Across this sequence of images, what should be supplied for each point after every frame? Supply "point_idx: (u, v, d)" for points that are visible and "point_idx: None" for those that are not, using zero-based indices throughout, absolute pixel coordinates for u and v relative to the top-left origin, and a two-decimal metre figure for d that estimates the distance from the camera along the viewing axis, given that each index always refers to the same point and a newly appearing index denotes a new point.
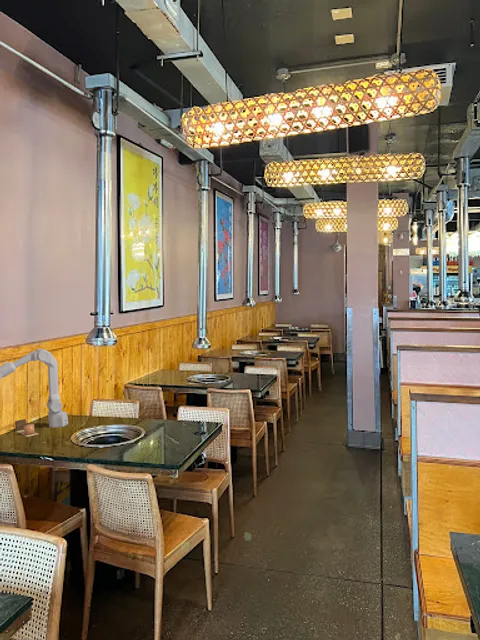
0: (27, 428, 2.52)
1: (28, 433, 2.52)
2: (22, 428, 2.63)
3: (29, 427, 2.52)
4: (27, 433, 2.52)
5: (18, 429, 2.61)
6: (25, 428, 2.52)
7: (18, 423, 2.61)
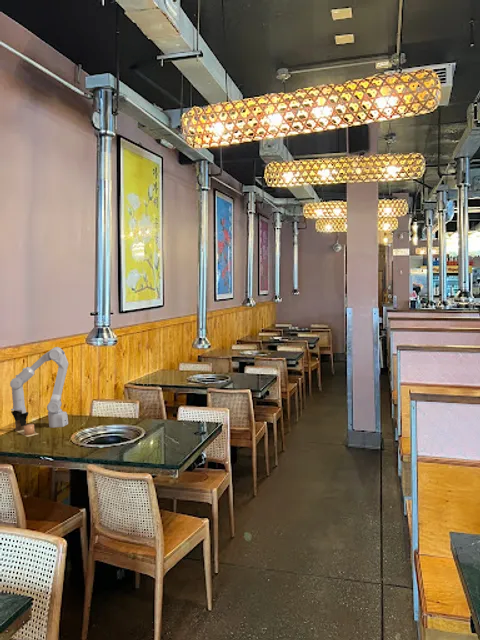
0: (27, 428, 2.52)
1: (28, 433, 2.52)
2: (22, 428, 2.63)
3: (29, 427, 2.52)
4: (27, 433, 2.52)
5: (18, 429, 2.61)
6: (25, 428, 2.52)
7: (18, 423, 2.61)
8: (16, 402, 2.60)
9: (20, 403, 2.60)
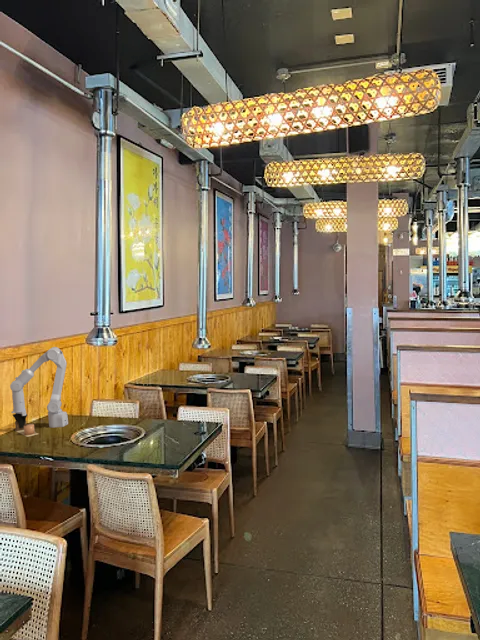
0: (27, 428, 2.52)
1: (28, 433, 2.52)
2: (22, 428, 2.63)
3: (29, 427, 2.52)
4: (27, 433, 2.52)
5: (18, 429, 2.61)
6: (25, 428, 2.52)
7: (18, 423, 2.61)
8: (16, 405, 2.60)
9: (20, 405, 2.61)
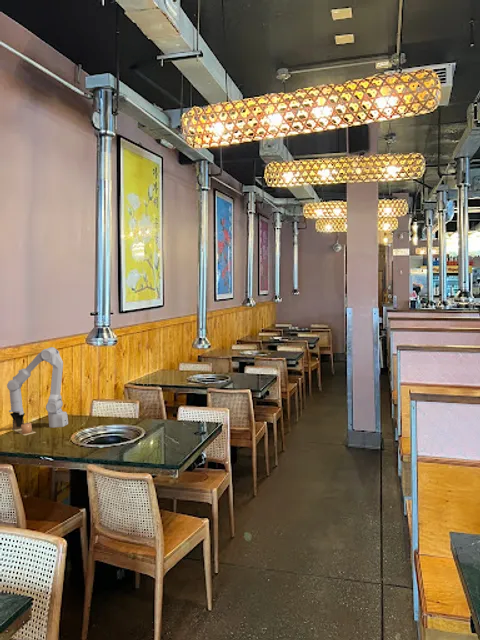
0: (24, 427, 2.55)
1: (25, 432, 2.55)
2: (19, 427, 2.66)
3: (26, 426, 2.55)
4: (24, 432, 2.55)
5: (15, 428, 2.64)
6: (22, 427, 2.55)
7: (15, 422, 2.64)
8: (14, 404, 2.63)
9: (18, 404, 2.64)
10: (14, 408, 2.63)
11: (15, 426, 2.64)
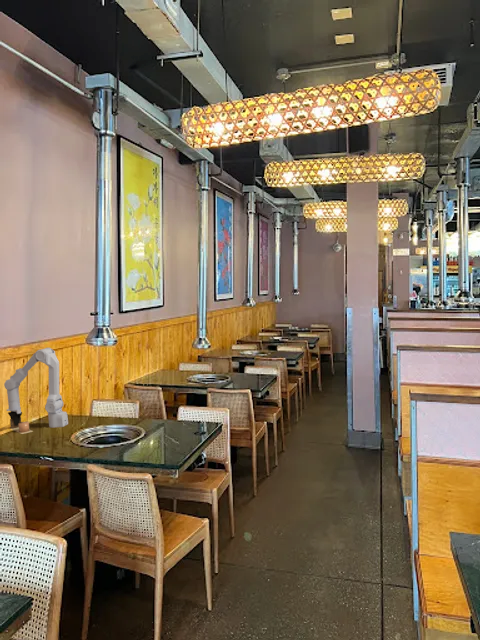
0: (22, 426, 2.58)
1: (23, 430, 2.58)
2: (17, 426, 2.69)
3: (24, 425, 2.58)
4: (22, 430, 2.58)
5: (13, 427, 2.67)
6: (20, 426, 2.58)
7: (13, 421, 2.67)
8: (11, 403, 2.66)
9: (15, 403, 2.66)
10: (12, 407, 2.66)
11: (13, 425, 2.67)
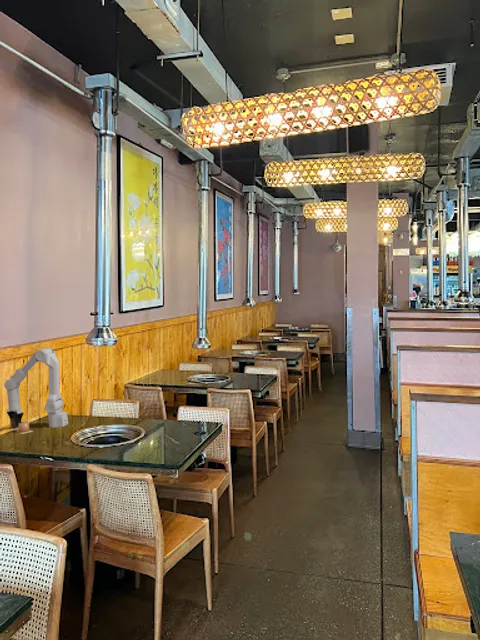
0: (22, 425, 2.58)
1: (23, 430, 2.58)
2: (17, 426, 2.69)
3: (24, 425, 2.58)
4: (22, 430, 2.58)
5: (13, 427, 2.67)
6: (20, 425, 2.58)
7: (13, 421, 2.67)
8: (11, 403, 2.66)
9: (15, 403, 2.66)
10: (12, 407, 2.66)
11: (13, 425, 2.67)
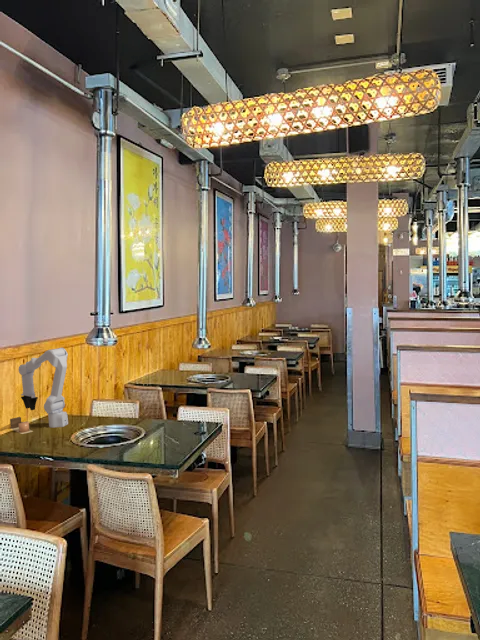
0: (22, 425, 2.58)
1: (23, 430, 2.58)
2: (17, 426, 2.69)
3: (24, 425, 2.58)
4: (22, 430, 2.58)
5: (13, 427, 2.67)
6: (20, 425, 2.58)
7: (13, 421, 2.67)
8: (26, 387, 2.72)
9: (29, 388, 2.72)
10: (26, 392, 2.72)
11: (13, 425, 2.67)
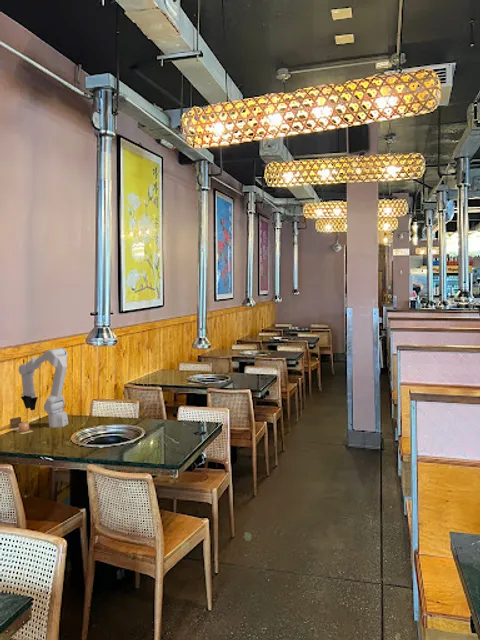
0: (22, 425, 2.58)
1: (23, 430, 2.58)
2: (17, 426, 2.69)
3: (24, 425, 2.58)
4: (22, 430, 2.58)
5: (13, 427, 2.67)
6: (20, 425, 2.58)
7: (13, 421, 2.67)
8: (26, 387, 2.72)
9: (29, 388, 2.72)
10: (26, 392, 2.72)
11: (13, 425, 2.67)
